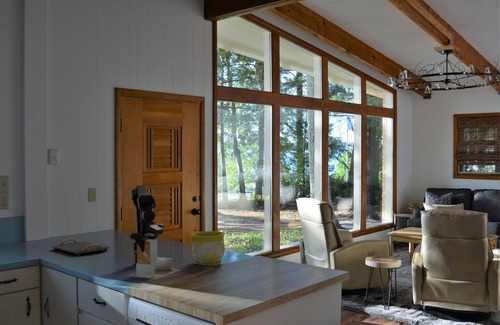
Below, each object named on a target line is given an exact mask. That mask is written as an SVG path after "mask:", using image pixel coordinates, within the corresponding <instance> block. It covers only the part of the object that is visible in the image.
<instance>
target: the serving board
mask: <svg viewBox="0 0 500 325" xmlns="http://www.w3.org/2000/svg"><path fill="white" fill-rule="evenodd" d="M69 241H71V242H69ZM72 241H73V242H72ZM65 242H66V243H65ZM67 242H68V243H67ZM52 248H53V251H57V250H60V251H63V252H67V253H72V254H75V255H76V257H80V256H81V254H84V253H92V252H98V251H99V252H100V251H103V252H108V251H109V250H108V249H110V247H109V246H107V245H101V244H98V243H95V242H94V243H93V242H88V241H80V240H76V239H75V238H66V239H63V240H62V241H61V242H60V243H57V245H56V244H55V245H52V246H51V249H52Z"/></svg>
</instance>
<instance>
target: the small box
mask: <svg viewBox="0 0 500 325" xmlns="http://www.w3.org/2000/svg"><path fill="white" fill-rule="evenodd" d="M157 257H158V239H156V240H155V239H146V240H145V242H144V252H142V251H141V249H140V248H139V246H138V244H137V263H142V264H152V265H154V267H156V265H158V260H157Z"/></svg>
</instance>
